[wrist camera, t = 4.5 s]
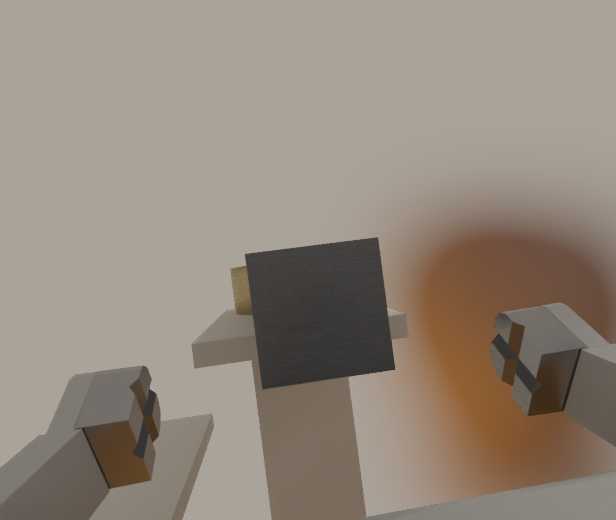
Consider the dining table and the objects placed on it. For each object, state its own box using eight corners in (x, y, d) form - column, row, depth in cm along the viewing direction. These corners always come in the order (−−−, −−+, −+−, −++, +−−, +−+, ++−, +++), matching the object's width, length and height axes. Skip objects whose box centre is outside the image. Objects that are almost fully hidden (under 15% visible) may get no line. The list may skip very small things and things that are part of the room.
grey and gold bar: (239, 308, 34) (234, 268, 34) (332, 296, 35) (326, 257, 35) (170, 403, 10) (152, 265, 10) (480, 356, 11) (462, 226, 11)
